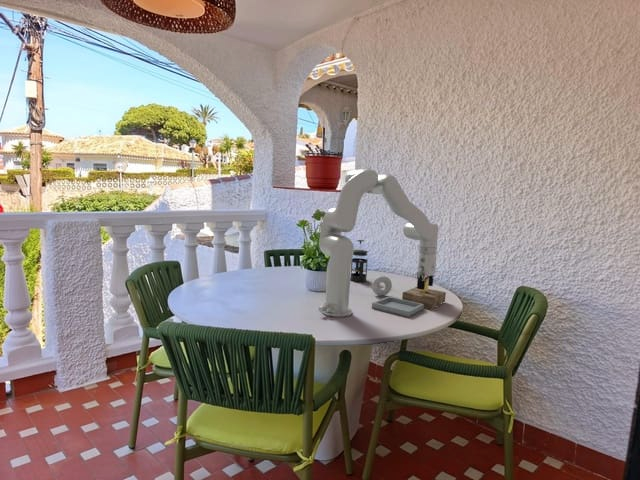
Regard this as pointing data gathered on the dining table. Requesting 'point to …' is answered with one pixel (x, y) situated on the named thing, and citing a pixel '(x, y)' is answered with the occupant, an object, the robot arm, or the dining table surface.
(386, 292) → the donut
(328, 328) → the dining table surface
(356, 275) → the french press
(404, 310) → the tray
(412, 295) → the pin block
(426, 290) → the pin
